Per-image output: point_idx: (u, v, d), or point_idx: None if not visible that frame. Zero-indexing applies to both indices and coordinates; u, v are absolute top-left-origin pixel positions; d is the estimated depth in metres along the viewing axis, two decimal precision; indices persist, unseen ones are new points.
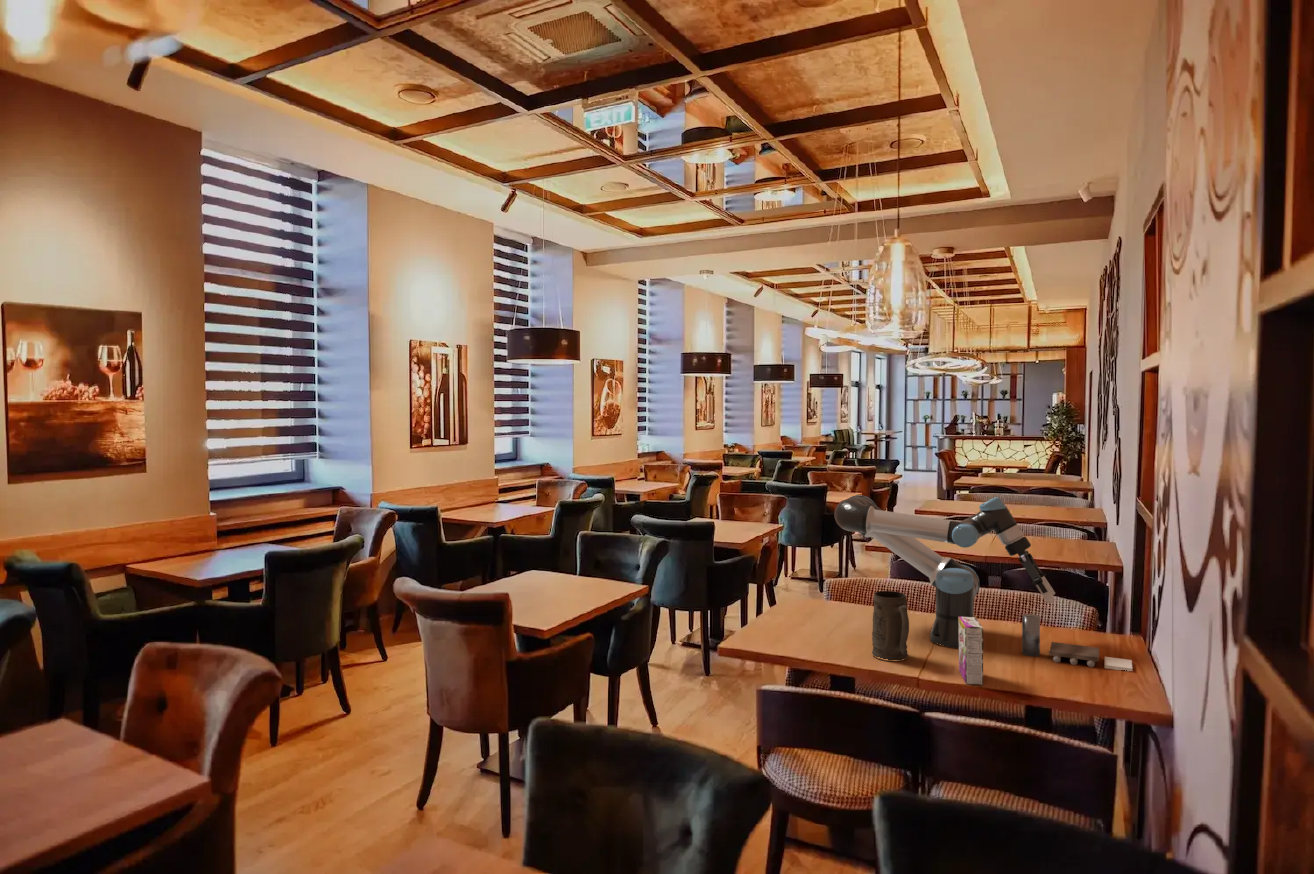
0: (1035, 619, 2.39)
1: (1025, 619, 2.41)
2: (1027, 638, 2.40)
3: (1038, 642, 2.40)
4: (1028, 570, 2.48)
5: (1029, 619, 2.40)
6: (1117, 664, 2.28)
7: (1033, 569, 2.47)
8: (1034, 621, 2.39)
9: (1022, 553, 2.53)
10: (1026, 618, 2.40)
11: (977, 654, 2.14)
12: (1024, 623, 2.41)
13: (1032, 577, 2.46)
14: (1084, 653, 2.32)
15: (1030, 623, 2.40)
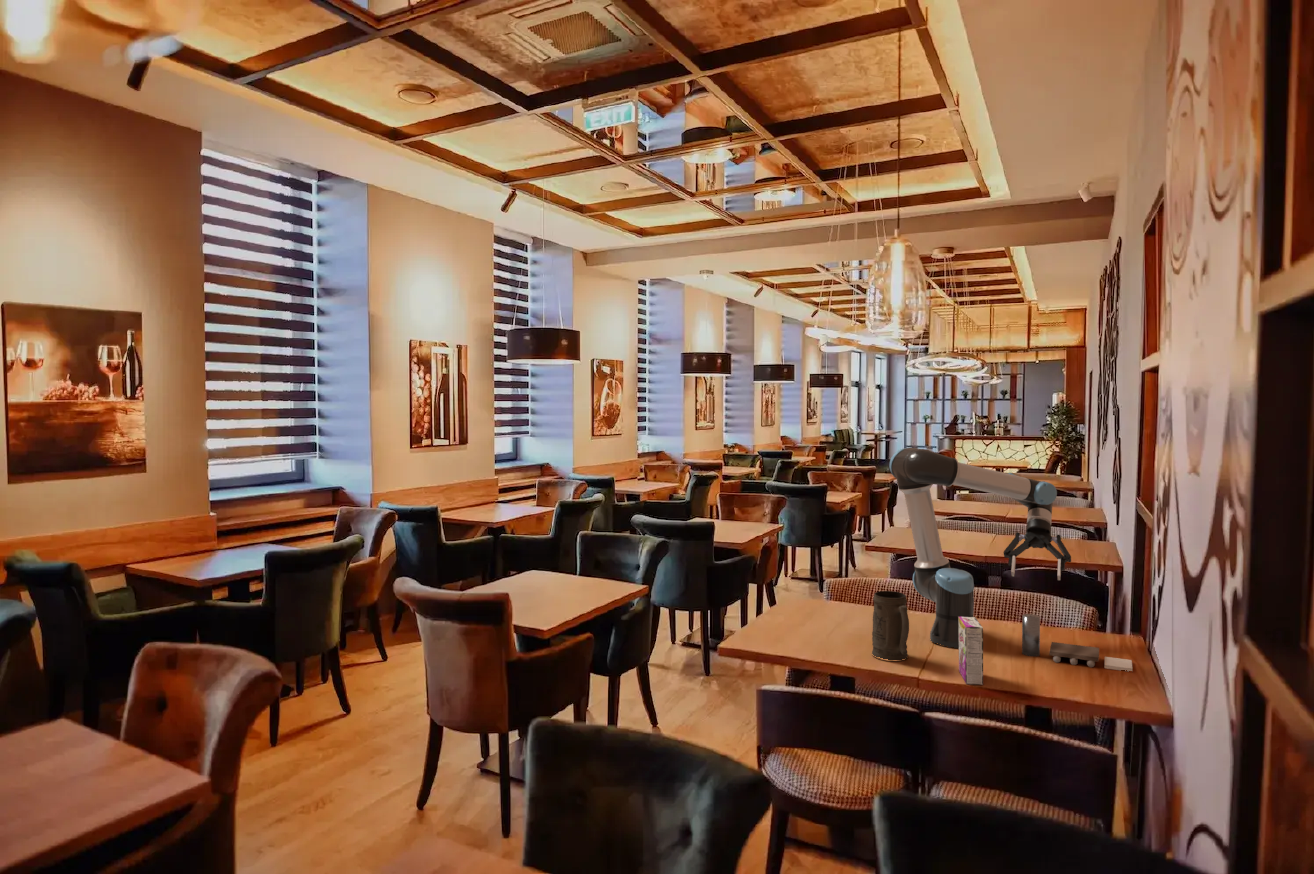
0: (1035, 619, 2.39)
1: (1025, 619, 2.41)
2: (1027, 638, 2.40)
3: (1038, 642, 2.40)
4: None
5: (1029, 619, 2.40)
6: (1117, 664, 2.28)
7: None
8: (1034, 621, 2.39)
9: (1050, 536, 2.61)
10: (1026, 618, 2.40)
11: (977, 654, 2.14)
12: (1024, 623, 2.41)
13: None
14: (1084, 653, 2.32)
15: (1030, 623, 2.40)
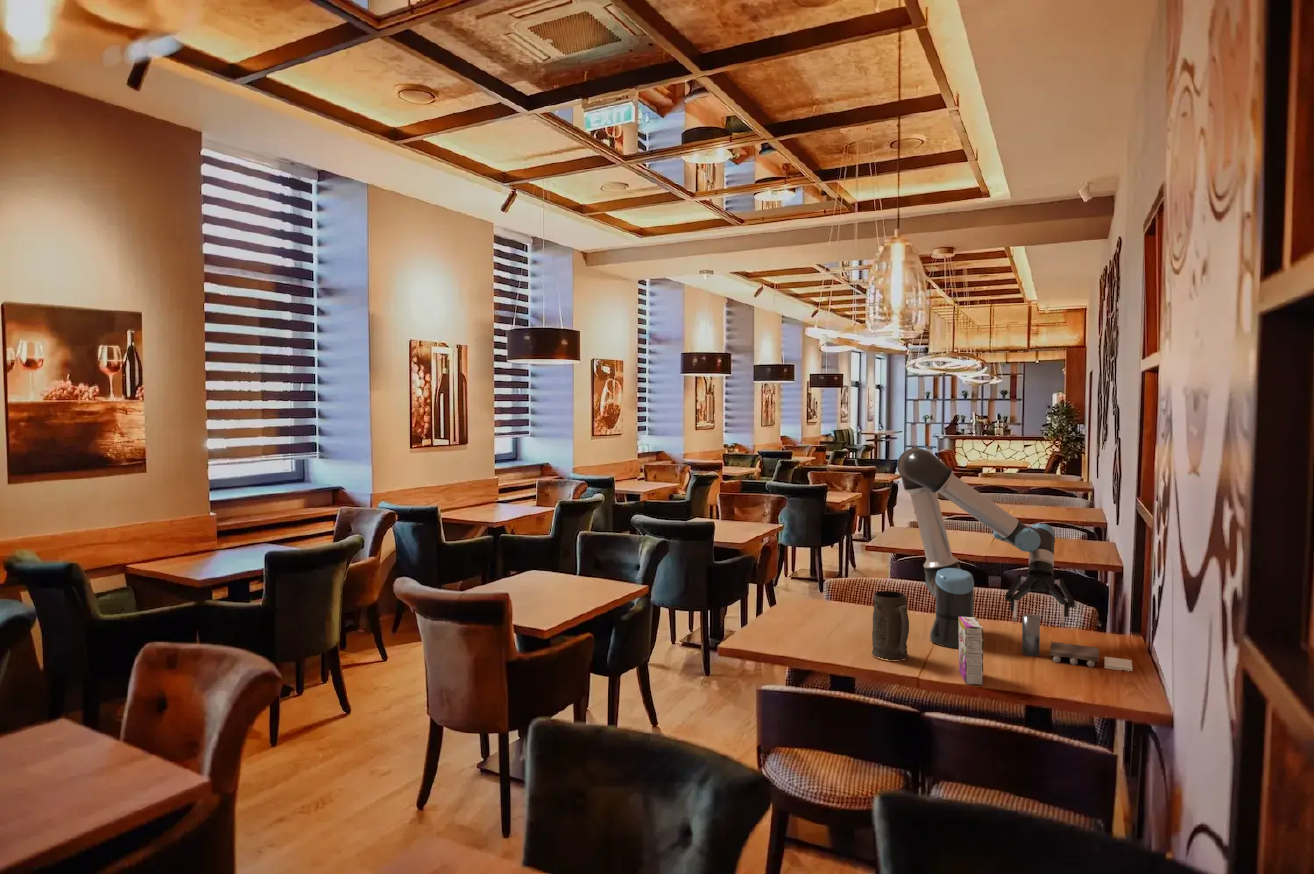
0: (1035, 619, 2.39)
1: (1025, 619, 2.41)
2: (1027, 638, 2.40)
3: (1038, 642, 2.40)
4: (1068, 592, 2.47)
5: (1029, 619, 2.40)
6: (1117, 664, 2.28)
7: None
8: (1034, 621, 2.39)
9: None
10: (1026, 618, 2.40)
11: (977, 654, 2.14)
12: (1024, 623, 2.41)
13: None
14: (1084, 653, 2.32)
15: (1030, 623, 2.40)
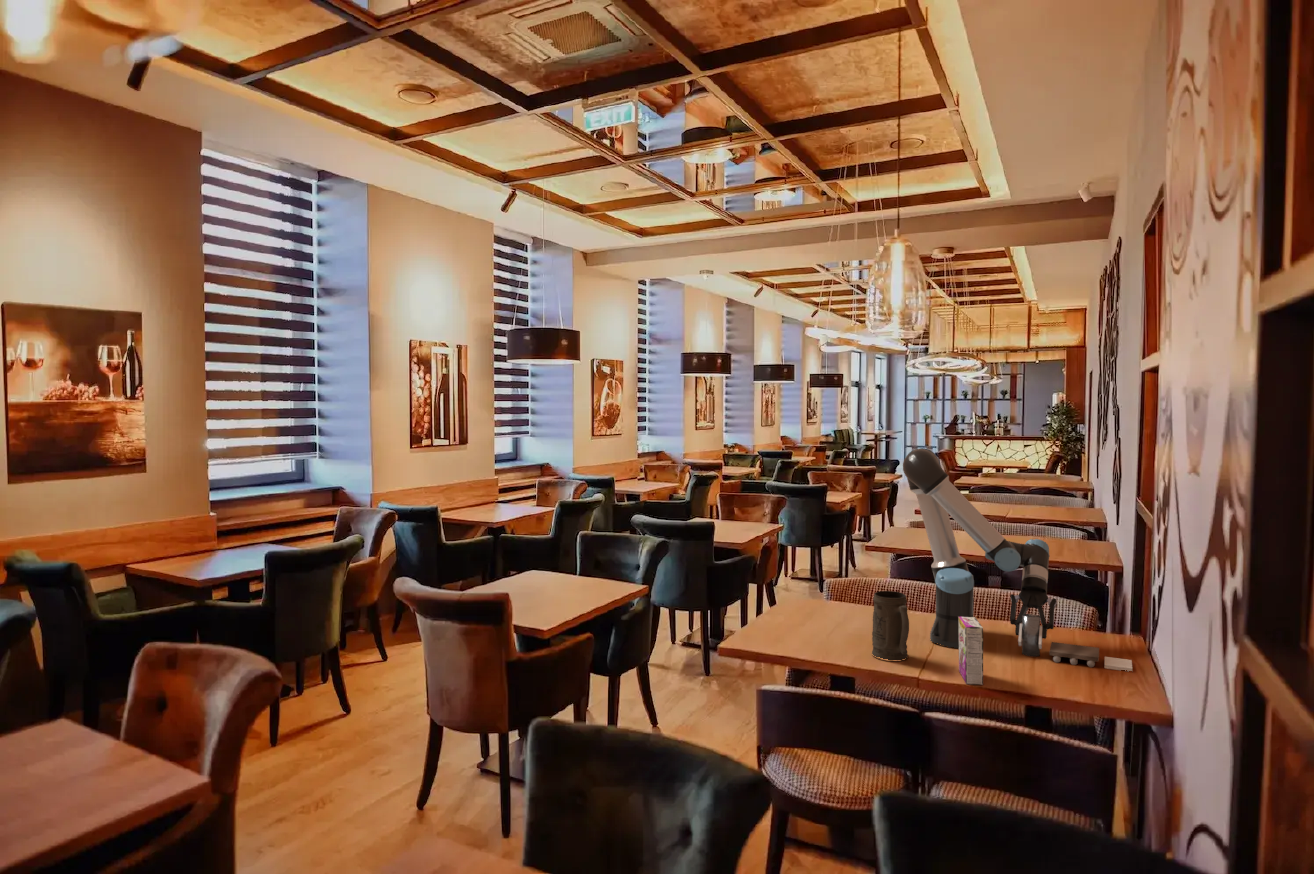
0: (1035, 619, 2.39)
1: (1025, 619, 2.41)
2: (1027, 638, 2.40)
3: (1038, 642, 2.40)
4: (1053, 613, 2.42)
5: (1029, 619, 2.40)
6: (1117, 664, 2.28)
7: None
8: (1034, 621, 2.39)
9: (1046, 595, 2.48)
10: (1026, 618, 2.40)
11: (977, 654, 2.14)
12: (1024, 623, 2.41)
13: (1053, 620, 2.40)
14: (1084, 653, 2.32)
15: (1030, 623, 2.40)
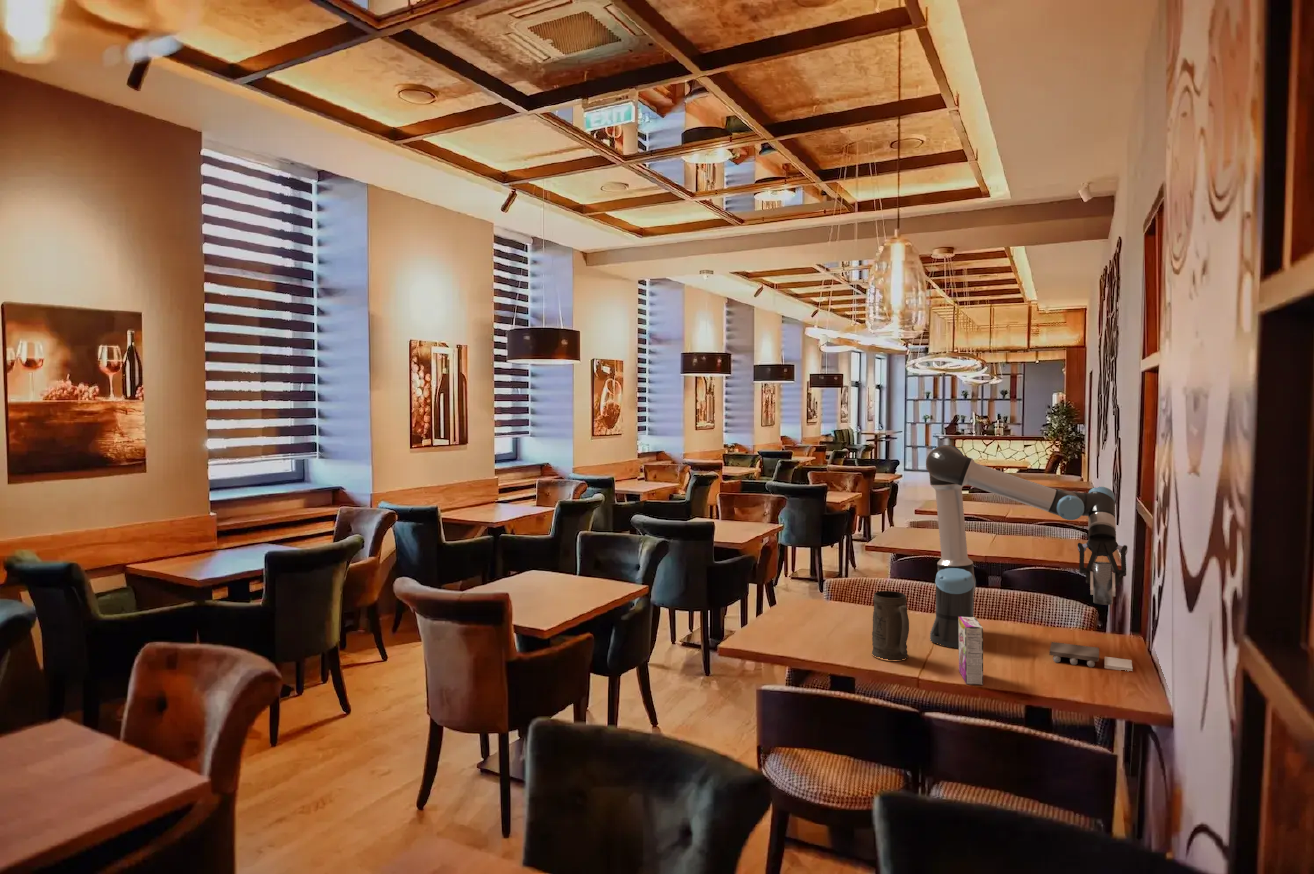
0: (1107, 566, 2.29)
1: (1096, 566, 2.31)
2: (1099, 586, 2.30)
3: (1111, 590, 2.30)
4: (1125, 560, 2.32)
5: (1101, 566, 2.30)
6: (1117, 664, 2.28)
7: None
8: (1106, 568, 2.29)
9: None
10: (1097, 565, 2.30)
11: (977, 654, 2.14)
12: (1095, 570, 2.31)
13: None
14: (1084, 653, 2.32)
15: (1102, 570, 2.30)
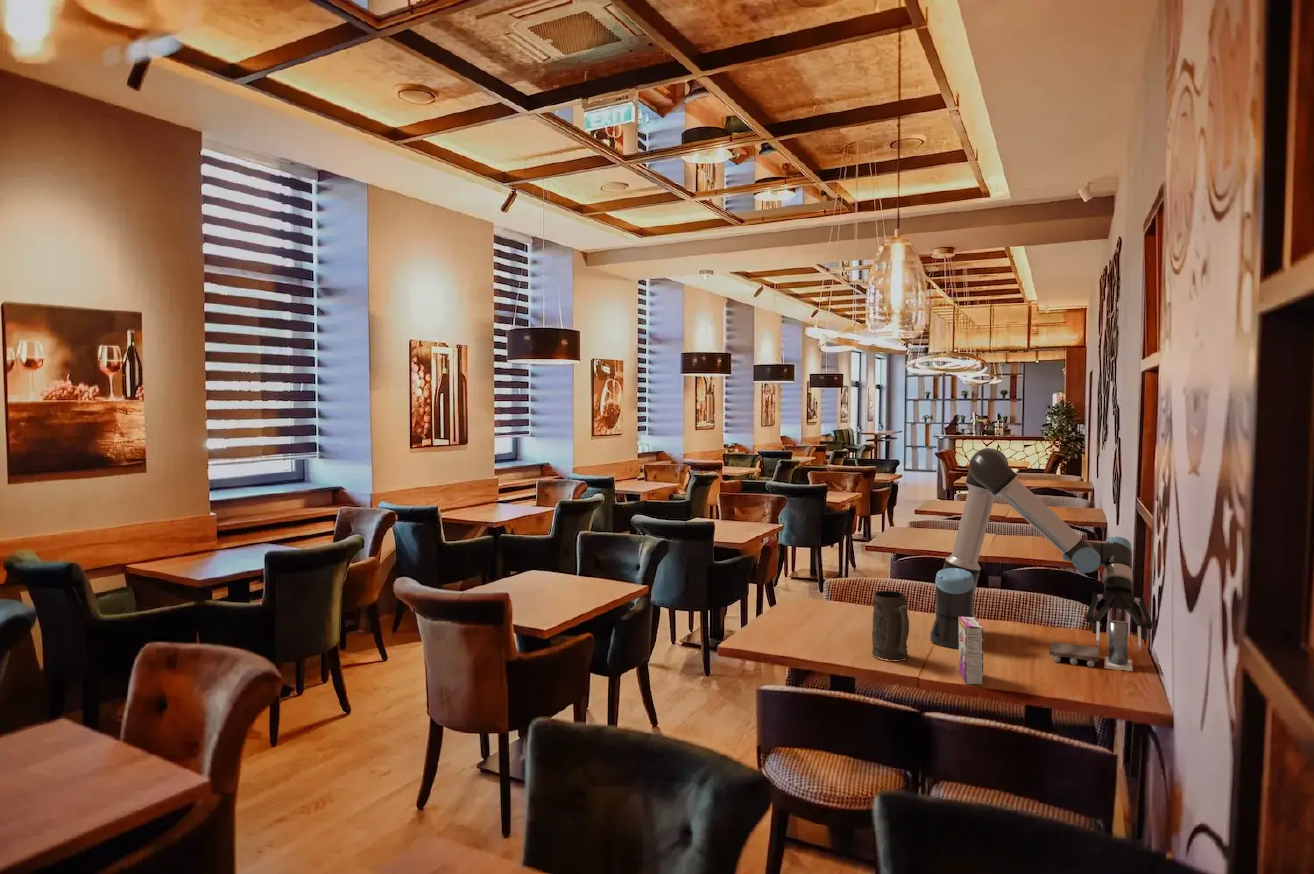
0: (1124, 626, 2.27)
1: (1112, 626, 2.29)
2: (1114, 646, 2.28)
3: (1126, 650, 2.28)
4: (1147, 612, 2.30)
5: (1117, 626, 2.28)
6: None
7: None
8: (1122, 628, 2.27)
9: (1132, 595, 2.36)
10: (1114, 624, 2.28)
11: (977, 654, 2.14)
12: (1111, 630, 2.29)
13: None
14: (1084, 653, 2.32)
15: (1118, 630, 2.28)
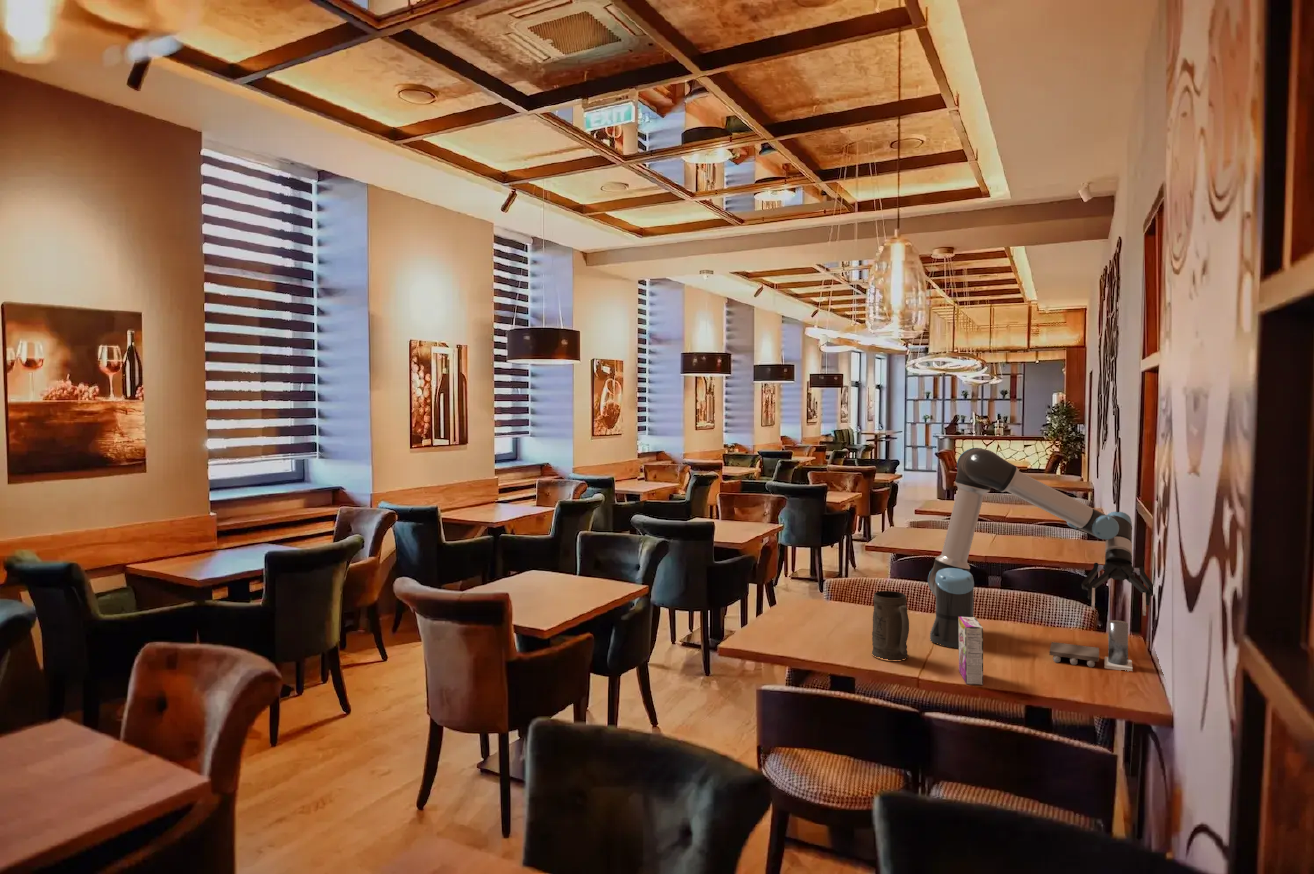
0: (1123, 626, 2.27)
1: (1112, 625, 2.29)
2: (1114, 646, 2.28)
3: (1126, 650, 2.28)
4: None
5: (1117, 626, 2.28)
6: None
7: None
8: (1122, 628, 2.27)
9: None
10: (1113, 624, 2.28)
11: (977, 654, 2.14)
12: (1111, 630, 2.29)
13: None
14: (1084, 653, 2.32)
15: (1118, 630, 2.28)
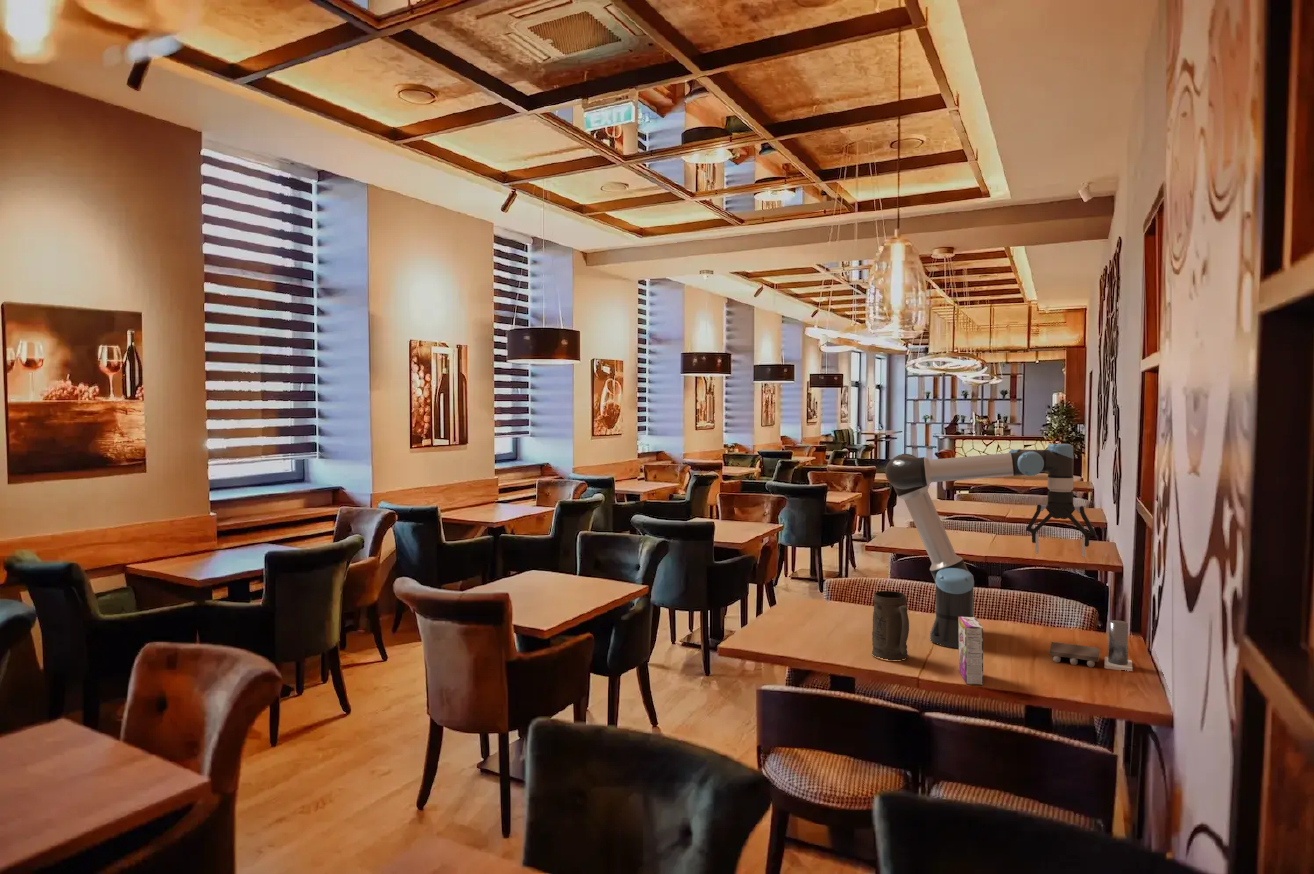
0: (1123, 626, 2.27)
1: (1112, 625, 2.29)
2: (1114, 646, 2.28)
3: (1126, 650, 2.28)
4: (1089, 521, 2.50)
5: (1117, 626, 2.28)
6: None
7: (1089, 522, 2.51)
8: (1122, 628, 2.27)
9: None
10: (1113, 624, 2.28)
11: (977, 654, 2.14)
12: (1111, 630, 2.29)
13: None
14: (1084, 653, 2.32)
15: (1118, 630, 2.28)
